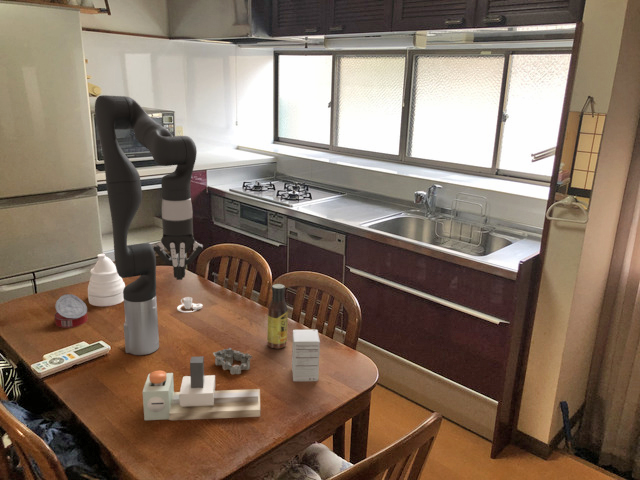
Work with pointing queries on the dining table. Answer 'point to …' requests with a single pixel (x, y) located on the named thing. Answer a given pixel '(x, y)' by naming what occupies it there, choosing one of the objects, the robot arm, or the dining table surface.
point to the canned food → (70, 311)
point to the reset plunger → (158, 377)
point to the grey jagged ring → (228, 358)
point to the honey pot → (105, 283)
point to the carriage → (197, 385)
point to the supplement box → (305, 355)
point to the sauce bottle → (277, 318)
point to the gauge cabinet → (158, 399)
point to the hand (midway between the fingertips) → (179, 278)
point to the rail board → (220, 406)
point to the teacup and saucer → (189, 305)
